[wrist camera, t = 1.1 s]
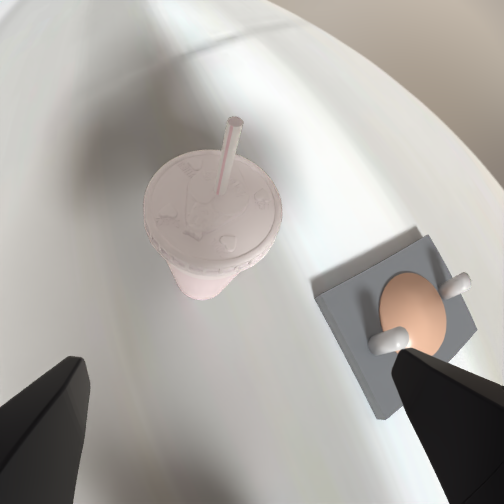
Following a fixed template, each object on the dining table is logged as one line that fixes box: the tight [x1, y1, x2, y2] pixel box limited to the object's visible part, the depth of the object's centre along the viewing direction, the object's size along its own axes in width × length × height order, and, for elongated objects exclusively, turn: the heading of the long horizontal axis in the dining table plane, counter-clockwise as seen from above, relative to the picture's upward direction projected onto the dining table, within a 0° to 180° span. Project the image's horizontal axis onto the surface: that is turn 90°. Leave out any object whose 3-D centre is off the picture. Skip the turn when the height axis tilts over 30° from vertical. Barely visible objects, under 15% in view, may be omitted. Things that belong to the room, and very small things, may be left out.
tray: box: [315, 235, 477, 420], centre depth 22 cm, size 14×11×4 cm
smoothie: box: [143, 117, 282, 300], centre depth 16 cm, size 6×6×14 cm
